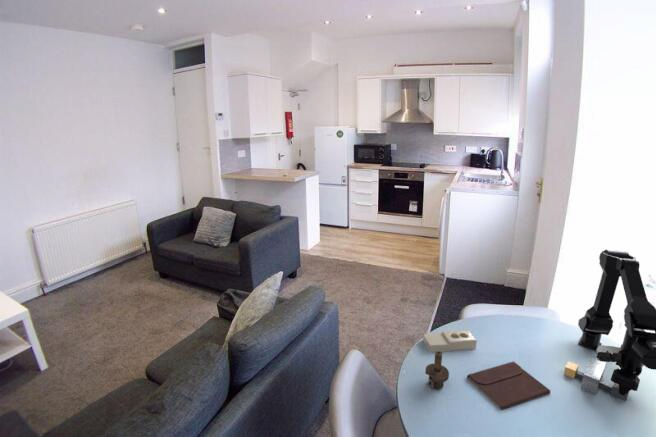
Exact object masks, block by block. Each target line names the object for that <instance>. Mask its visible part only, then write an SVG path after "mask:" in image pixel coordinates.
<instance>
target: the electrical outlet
mask: <svg viewBox="0 0 656 437" xmlns="http://www.w3.org/2000/svg"><path fill="white" fill-rule="evenodd" d="M422 342H423V343H424V344H425V347H426V348H427V350H428V351H429V352H430V353H434V352H436V351H440V352H449V351H451V352H452V351H463V350H475V349H477V338H476V337H475V336H474V335H473V334H472V333H471V331H470V330H468V329H461V330H460V329H459V330H458V329H457V330H445V331H442V332H438V333H424V334H423V336H422Z"/></svg>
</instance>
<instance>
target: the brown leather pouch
mask: <svg viewBox="0 0 656 437" xmlns="http://www.w3.org/2000/svg"><path fill="white" fill-rule="evenodd" d="M466 378H467V380H469V381H470V382H471V383H472V384H473V385H474V386H475V387H477V388H478V389H479V391H481V392H482V393H483V394H484V396H486V397H487V398H488V399H489V400H490V401H491V402H492V403H494V404H495V406H497V407H498V408H499V410H501V411H502V410H503V411H504V410H506V409H509V408H512V407H514V406H518V405H521V404H524V403H526V402H530V401H532V400H535V399H538V398H541V397H544V396H547V395H549V394H551V389H549V388H548V387H547V386H546V385H545V384H543V383H542V382H540V381H539V380H538V379H537V378H535V377H534V376H533V375H531V374H530V373H528V372H527V371H526V370H525V369H523V367H522V366H520V365H519V364H518V363H517V362H515V361H510V362H507V363H504V364H500V365H497V366H494V367H490V368H487V369H483V370H479V371H475V372H473V373H470V374H467V376H466Z"/></svg>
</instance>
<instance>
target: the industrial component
mask: <svg viewBox="0 0 656 437" xmlns="http://www.w3.org/2000/svg"><path fill="white" fill-rule="evenodd" d="M442 360H443V351H436V352H435V354H434V363H430V364H428V365H426V366H425V372H424V373H425V375H428V385H429V386H430V389H432V390H441V389H443V388H444V383H445V382H447V381H448V380H449V376H450V371H449V369H448V368H447V367H446V366H444V365H442V362H443V361H442Z"/></svg>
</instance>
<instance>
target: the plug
mask: <svg viewBox="0 0 656 437" xmlns="http://www.w3.org/2000/svg"><path fill="white" fill-rule="evenodd" d="M578 368H579V364H576V363H574V362H572V361H567V363H566V365H565V366H564V371H563V375H564V376H566V377H569V378H571V379H575V378H577V379H579V380H582V381H583V376H584V373H585V372H581V371H579V369H578ZM598 388H601V389H603V390H605V391H607V392H610V395H612V396H614V397H617V398H619V399H621V400H623V401H628V397H629V393H630V391H629V392H628V393H626V394H625V395H621V394H619V384H616V383H614V382H613V384H611V383H608V382H606V381H603V380H600V382H599V386H598Z"/></svg>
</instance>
